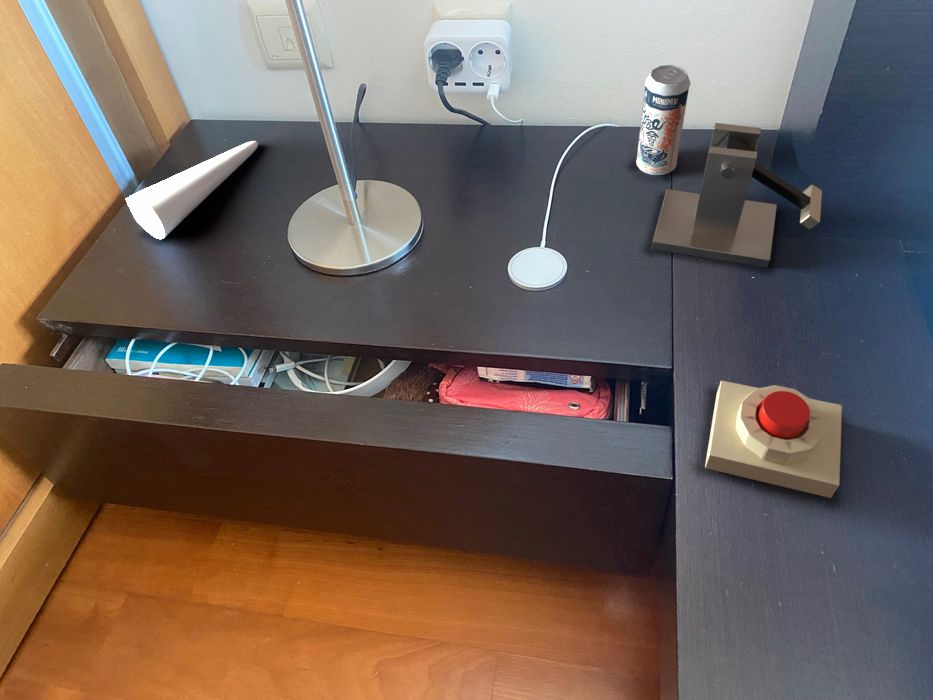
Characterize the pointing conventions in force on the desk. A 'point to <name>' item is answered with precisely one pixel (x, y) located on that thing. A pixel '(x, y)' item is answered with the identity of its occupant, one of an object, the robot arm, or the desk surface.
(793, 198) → the lever
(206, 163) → the long cone
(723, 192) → the bracket
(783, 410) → the button
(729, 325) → the desk surface
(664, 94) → the beer can
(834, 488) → the switch block
